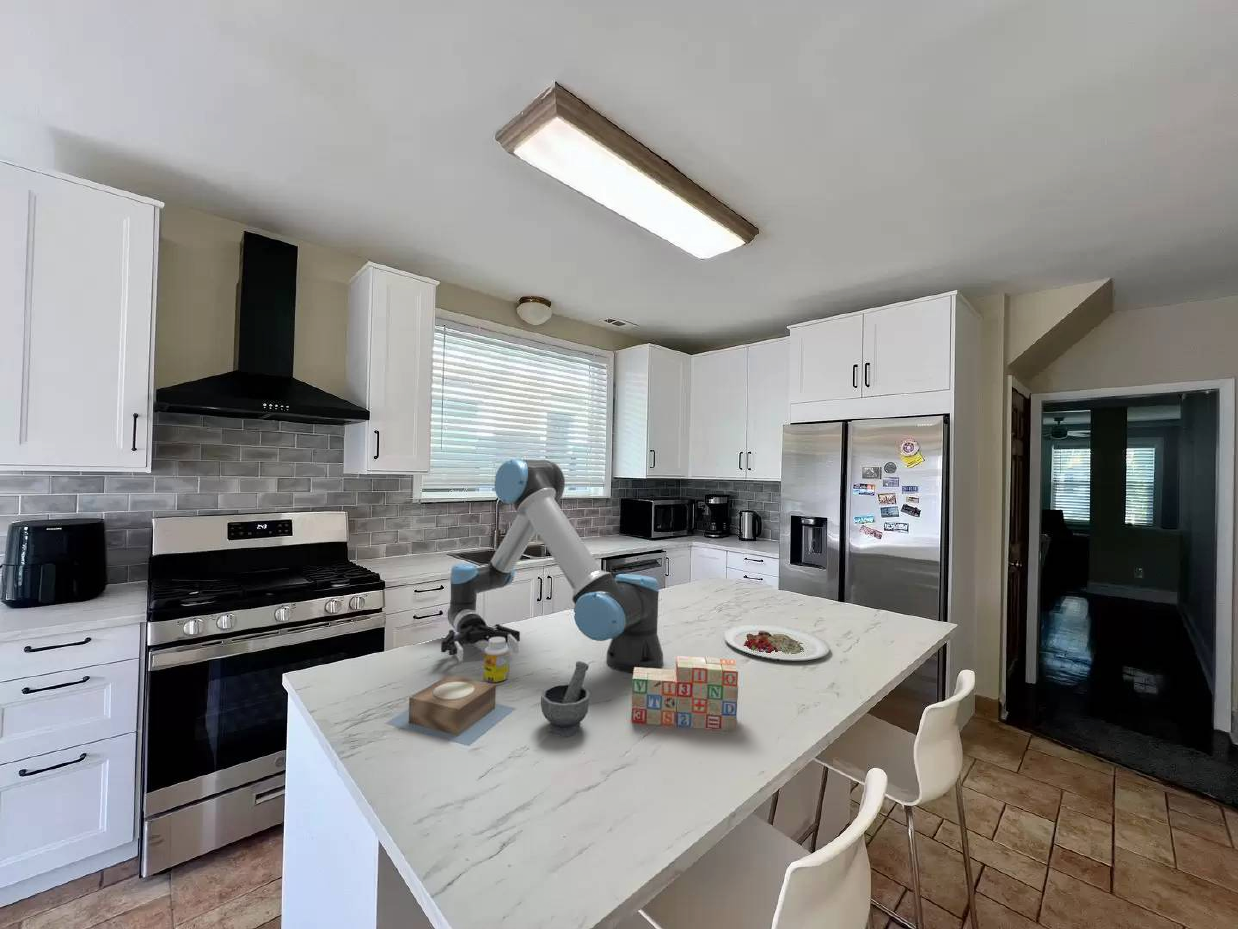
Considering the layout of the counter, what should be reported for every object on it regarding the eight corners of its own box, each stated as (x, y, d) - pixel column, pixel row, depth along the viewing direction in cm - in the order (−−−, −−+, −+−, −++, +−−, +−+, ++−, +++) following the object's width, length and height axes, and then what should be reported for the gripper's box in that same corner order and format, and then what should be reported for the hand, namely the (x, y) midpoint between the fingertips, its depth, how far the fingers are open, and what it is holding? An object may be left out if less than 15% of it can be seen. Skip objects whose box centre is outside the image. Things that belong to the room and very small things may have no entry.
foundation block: (495, 708, 109) (495, 683, 109) (458, 735, 98) (459, 708, 98) (449, 697, 113) (449, 674, 113) (408, 722, 102) (409, 696, 102)
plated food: (838, 643, 159) (838, 632, 159) (817, 675, 133) (817, 662, 133) (743, 624, 175) (743, 614, 175) (708, 650, 149) (709, 638, 149)
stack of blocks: (630, 723, 105) (632, 663, 105) (632, 709, 112) (634, 652, 112) (737, 732, 103) (738, 670, 103) (733, 716, 110) (734, 658, 110)
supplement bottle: (480, 680, 124) (482, 637, 124) (503, 675, 127) (504, 634, 127) (488, 689, 119) (489, 644, 119) (511, 684, 122) (512, 640, 122)
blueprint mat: (516, 710, 110) (516, 708, 110) (469, 747, 95) (469, 745, 95) (440, 692, 117) (440, 690, 117) (385, 725, 102) (385, 723, 102)
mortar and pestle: (566, 747, 96) (567, 682, 96) (530, 731, 101) (531, 670, 101) (602, 723, 105) (604, 664, 105) (568, 709, 110) (569, 653, 110)
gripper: (512, 633, 152) (537, 658, 133) (423, 646, 140) (436, 675, 121) (513, 608, 152) (538, 629, 133) (423, 618, 140) (437, 643, 121)
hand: (489, 651), depth 127 cm, fingers open, 13 cm apart
